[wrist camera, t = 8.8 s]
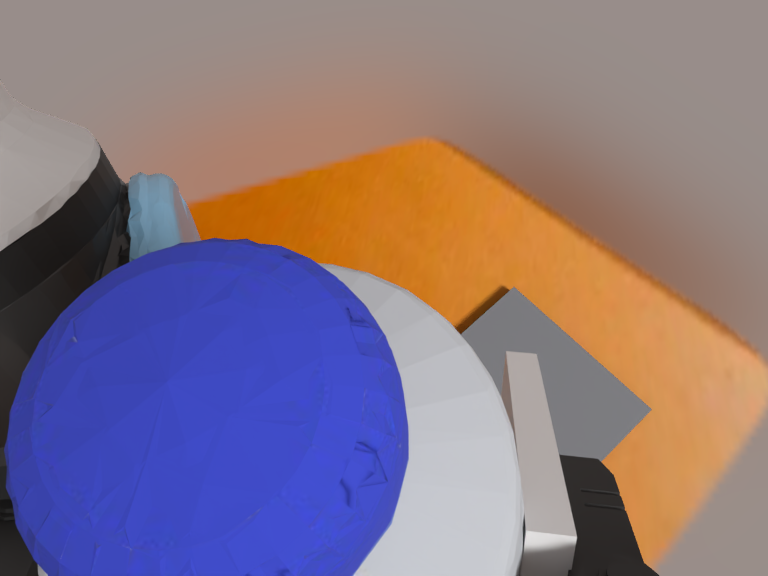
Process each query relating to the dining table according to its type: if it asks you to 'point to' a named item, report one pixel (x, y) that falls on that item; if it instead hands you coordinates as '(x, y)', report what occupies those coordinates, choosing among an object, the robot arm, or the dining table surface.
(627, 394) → the mat
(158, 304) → the bottle
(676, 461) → the dining table surface
